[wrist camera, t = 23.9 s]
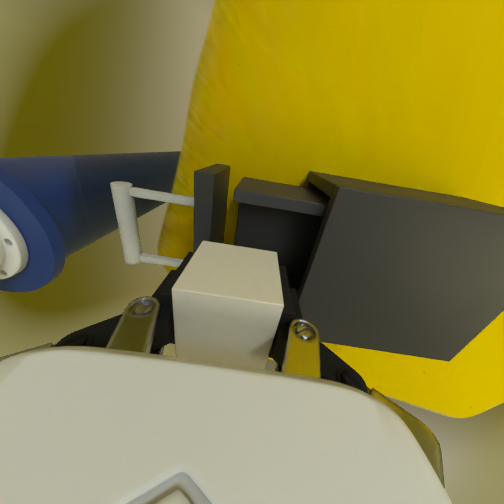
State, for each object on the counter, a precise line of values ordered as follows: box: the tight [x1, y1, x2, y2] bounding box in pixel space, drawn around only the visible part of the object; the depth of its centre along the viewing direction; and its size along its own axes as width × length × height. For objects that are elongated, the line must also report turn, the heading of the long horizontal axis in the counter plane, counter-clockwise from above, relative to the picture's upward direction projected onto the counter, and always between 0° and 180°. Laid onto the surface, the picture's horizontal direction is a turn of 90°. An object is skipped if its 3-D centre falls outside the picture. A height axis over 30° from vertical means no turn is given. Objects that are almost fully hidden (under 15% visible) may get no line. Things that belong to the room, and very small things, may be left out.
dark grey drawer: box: [110, 164, 331, 294], centre depth 17 cm, size 21×11×6 cm, turn 81°
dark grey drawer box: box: [297, 171, 504, 361], centre depth 17 cm, size 15×13×8 cm
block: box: [172, 241, 284, 369], centre depth 11 cm, size 4×4×4 cm
